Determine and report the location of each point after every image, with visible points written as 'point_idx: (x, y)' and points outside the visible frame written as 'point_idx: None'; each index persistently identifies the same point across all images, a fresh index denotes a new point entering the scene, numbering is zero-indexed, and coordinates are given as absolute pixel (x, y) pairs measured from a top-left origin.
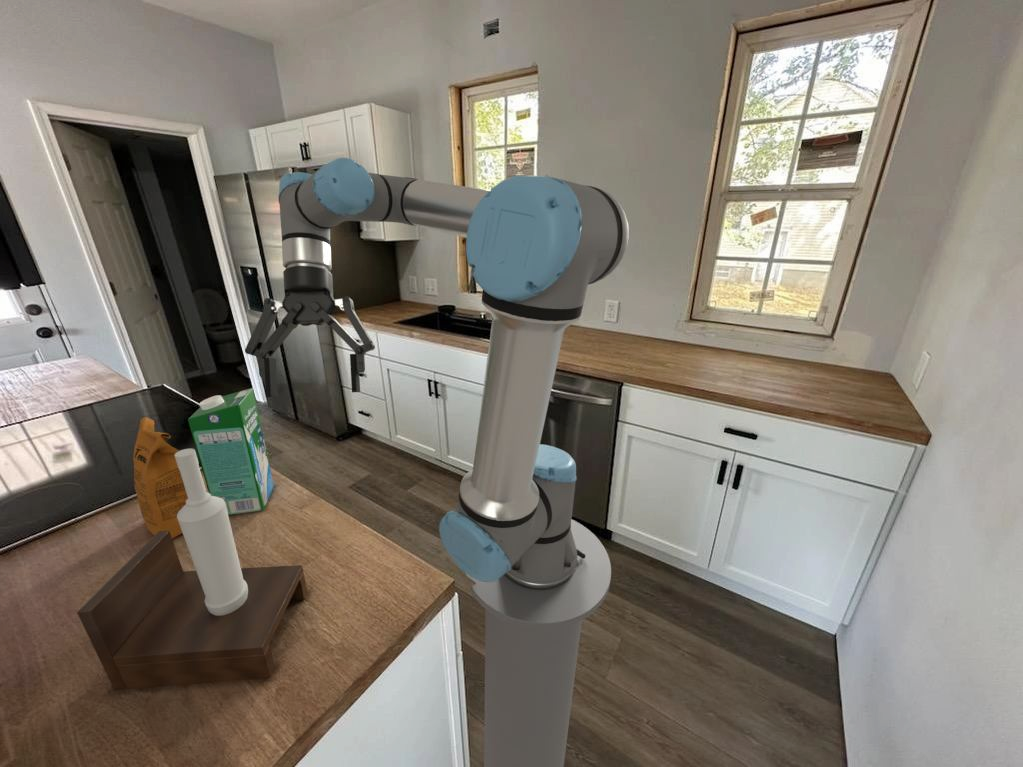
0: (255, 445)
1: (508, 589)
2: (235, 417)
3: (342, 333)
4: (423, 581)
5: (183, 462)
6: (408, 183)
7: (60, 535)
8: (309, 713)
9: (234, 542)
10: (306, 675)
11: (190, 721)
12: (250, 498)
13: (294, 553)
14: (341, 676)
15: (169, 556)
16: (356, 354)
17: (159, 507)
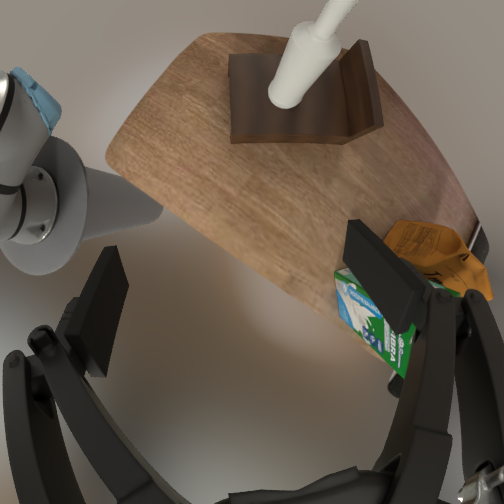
0: (372, 317)
1: (53, 164)
2: None
3: (86, 426)
4: (119, 160)
5: None
6: None
7: (465, 234)
8: (189, 51)
9: (283, 74)
10: (201, 71)
11: (269, 50)
12: (351, 273)
13: (268, 198)
14: (173, 72)
15: (361, 121)
16: (67, 345)
17: (420, 225)
